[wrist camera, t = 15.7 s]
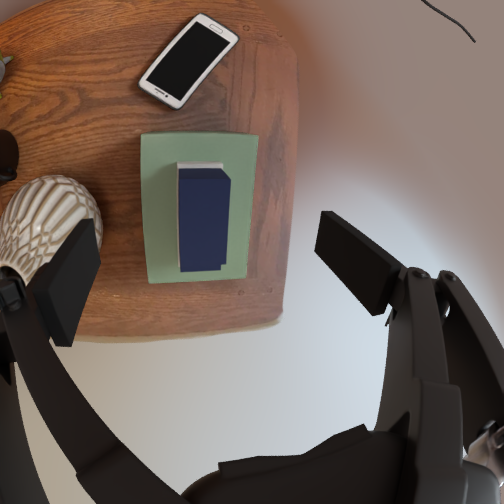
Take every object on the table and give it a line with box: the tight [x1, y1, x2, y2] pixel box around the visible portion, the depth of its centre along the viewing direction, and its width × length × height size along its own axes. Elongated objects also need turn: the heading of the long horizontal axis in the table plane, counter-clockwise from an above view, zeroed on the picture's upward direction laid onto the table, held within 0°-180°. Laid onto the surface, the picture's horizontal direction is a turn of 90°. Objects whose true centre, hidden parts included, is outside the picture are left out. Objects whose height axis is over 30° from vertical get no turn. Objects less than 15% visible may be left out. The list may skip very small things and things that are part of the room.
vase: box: [0, 175, 103, 289], centre depth 27 cm, size 16×16×20 cm
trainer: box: [177, 161, 231, 272], centre depth 30 cm, size 13×5×8 cm, turn 175°
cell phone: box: [137, 13, 240, 110], centre depth 30 cm, size 8×15×1 cm, turn 142°
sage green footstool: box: [140, 131, 258, 283], centre depth 37 cm, size 14×20×8 cm
